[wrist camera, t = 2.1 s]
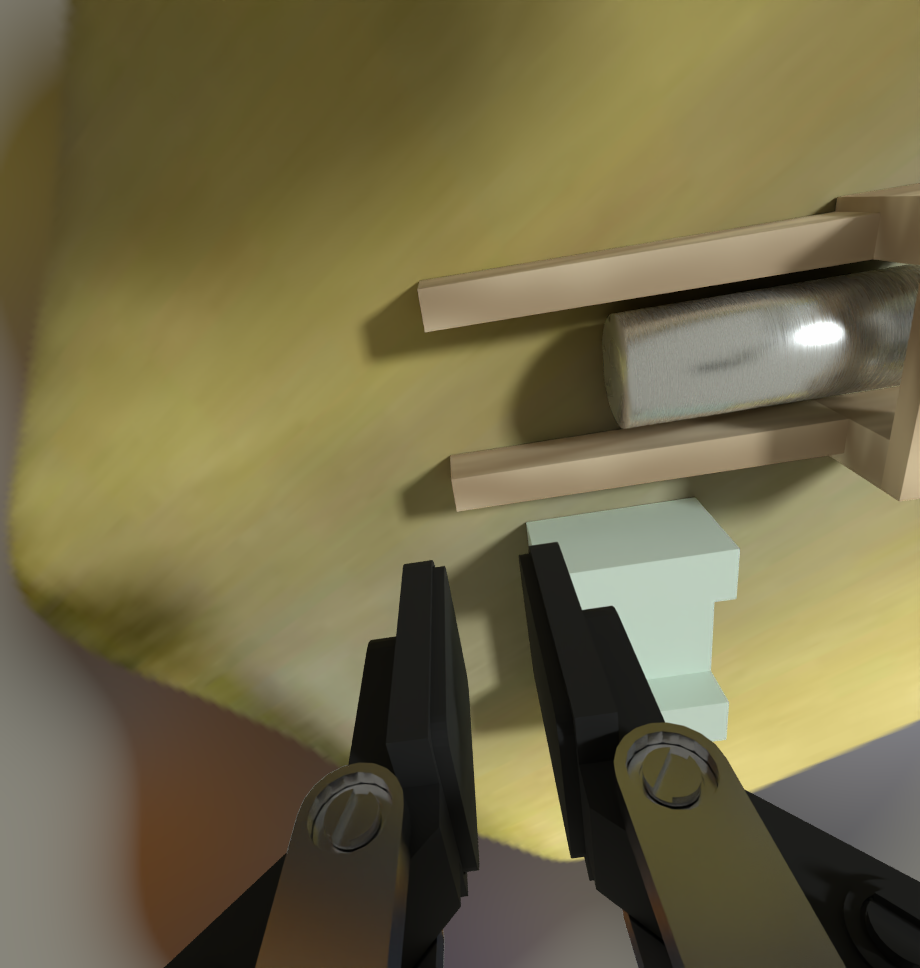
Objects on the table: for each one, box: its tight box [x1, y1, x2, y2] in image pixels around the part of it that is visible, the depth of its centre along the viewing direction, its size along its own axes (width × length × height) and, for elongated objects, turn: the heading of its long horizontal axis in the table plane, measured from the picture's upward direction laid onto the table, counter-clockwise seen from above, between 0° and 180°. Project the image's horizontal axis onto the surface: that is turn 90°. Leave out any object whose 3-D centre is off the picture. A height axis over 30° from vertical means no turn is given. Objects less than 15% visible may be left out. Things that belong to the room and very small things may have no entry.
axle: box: [602, 264, 920, 429], centre depth 22 cm, size 12×4×4 cm, turn 99°
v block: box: [526, 497, 740, 741], centre depth 28 cm, size 11×8×4 cm
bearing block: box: [417, 183, 920, 512], centre depth 22 cm, size 10×20×6 cm, turn 99°
